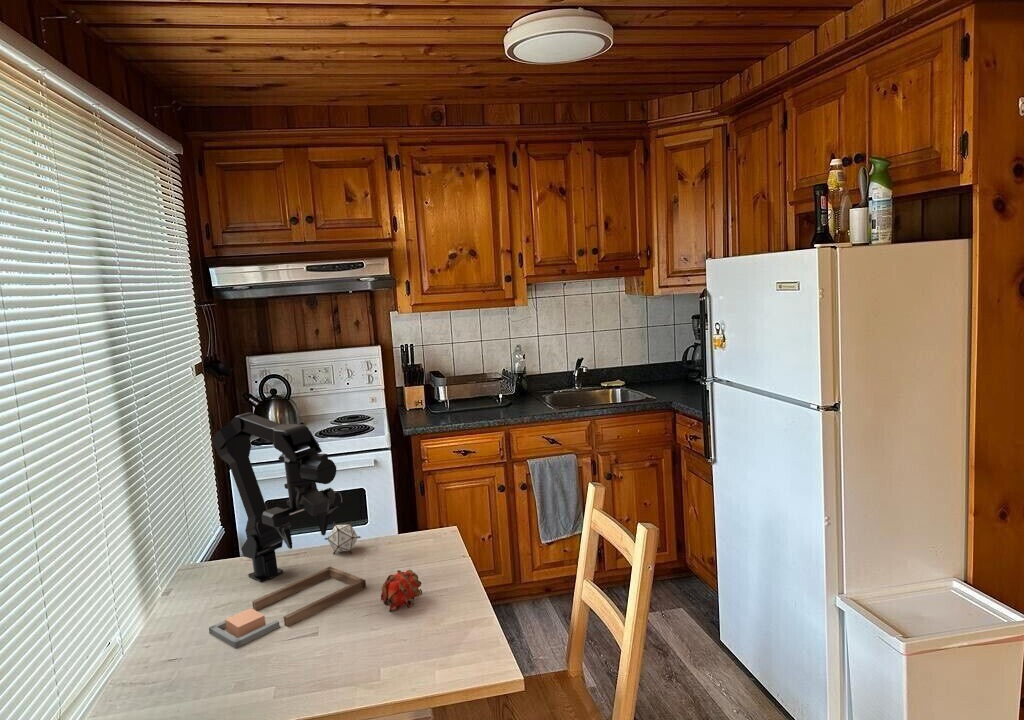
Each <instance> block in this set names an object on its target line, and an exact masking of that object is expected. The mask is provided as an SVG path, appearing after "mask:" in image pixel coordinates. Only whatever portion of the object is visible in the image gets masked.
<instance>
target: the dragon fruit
mask: <svg viewBox="0 0 1024 720" xmlns="http://www.w3.org/2000/svg"><path fill="white" fill-rule="evenodd" d="M396 571H397V572H396V574H389V575H388V577H387V578H386V580H385V582H384V583H383V584H382V587H381V591H382V592H381V595H380V600H381V602H383V603H382V604H384V605H385V606H386V607H389V610H388V611H389V613H391V612H393V611H399V610H401V609H402V607H403V606H404V605H405V606H406V607H408V608H409V609H410V608H411V607H412V606H413V605H415V597H420V596H422V595H423V590H422V588H420V587H421V586H422V581H421V580H419V576H418V574H416V573H415V572H413V570H411V569H408V570H405V571H401V570H400V569H397V570H396Z"/></svg>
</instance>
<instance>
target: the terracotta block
mask: <svg viewBox="0 0 1024 720" xmlns="http://www.w3.org/2000/svg"><path fill="white" fill-rule="evenodd" d="M252 608H253V607H250V608H247V609H245V610H244V611H243V610H242V611H241V612H238V613H237V614H234V615H232V616H229V617H227V618H225V619H224V620H225V622H226V628H225V629H226V632H227V633H229V634H230V635H232V636H234V637H236V638H240V637H242V636H244V635H246V634H248V633H250V632H252V631H254V630H256V629H259V628H261V627H263V626H265V625H267V624H266V620H265V615H264V614H263V613H261V612H259V611H258V610H256V611H255V610H254V609H252Z"/></svg>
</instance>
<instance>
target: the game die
mask: <svg viewBox="0 0 1024 720" xmlns="http://www.w3.org/2000/svg"><path fill="white" fill-rule="evenodd" d="M352 524H353V521H351V522H350V523H349V524H348V523H346V524H336V522H333V525H334V526H333V528H332V529H331V531H330V533H329V535H328V537H325V538H324V540H325V541H326V540H327V541H328V542H329V544H330V546H331V548H332V549H333V552H332V554H333V555H335V554H336V553H338V552H340V553H341V552H342V553H343V552H349V553H350V554H352V555H353V551H352V549H353V547H354V546H355V544H356V542H357V540H358V539H360V538H362V537H361V535H359V536H358V534H357V533H356V531H355V529H354V528H353V525H352Z"/></svg>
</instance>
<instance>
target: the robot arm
mask: <svg viewBox="0 0 1024 720" xmlns="http://www.w3.org/2000/svg"><path fill="white" fill-rule="evenodd" d="M253 436H254V437H257V438H260V439H262V440H265V441H268V442H271V444H273V447H274V449H276V450H277V451H278V452H280V453H281V454H280V455H279V456H278V461H282V462H284V463H283V464H284V469H285V478H286V483H284V484H283V485H284V489H287V494H288V500H286V506H289V507H287V508H281V507H277V506H275V507H273V508H270V509H268V508H267V505H266V502H265V499H264V497H263V494H262V490H261V488H260V486H259V482H258V480H257V479H258V478H257V477H256V473H255V472H254V468H253V465H252V463H251V460H250V453H251V450H252V442H251V438H252V437H253ZM212 445H213V447H214V449H215V451H216V453H217V455H218V457H219V458H220V459H221V460H222V461H223V462H225V463H226V464H227V465H228V466H229V467H230V471H231V473H232V474H231V475H232V477H233V479H234V482H235V486H236V488H237V491H238V494H239V498H240V499H241V501H242V504H243V505H242V506H243V508H244V511H245V513H246V516H247V522H246V526H245V531H244V532H245V534H246V540H245V541H244V543H243V545H242V546H241V548H240V551H241V553H242V556H243V557H244V558H248V559H251V562H252V568H253V569H252V570H253V571H252V572H251V573H248V577H250V578H251V579H253V580H255V581H257V582H262V583H263V582H264V581H267V580H269V579H272V578H274V577H276V576H279V575H281V574H283V573H284V569H281V568H279V567H278V563H277V554H276V551H275V550H278V549H280V548H283V542H284V544H285V545H286V547H287V548H288V549H290V550H291V549H293V539H292V533H291V527H292V522H290V520H291V517H292V516H294V515H297V514H299V513H302V512H307V513H308V515H309V516H310V517H311V516H312V517H317V522H318V526H319V528H318V529H319V530H320V534H321V536H326V534H327V529H328V525H329V521H330V518H331V514H332V513H333V512H334V510H336V509H337V508H338V507H339V505H340V504H342V503H343V497H342V494H341V493H340V492H339V491H336V490H334V489H333V488H332V487H328V488H325V489H324V490H323V489H321V490H319V489H318V486H317V484H321V485H328V484H330V483H331V482H333V481H334V479H335V478H336V475H337V465H336V463H335V462H334V461H333V460H332V459H330V458H328V457H329V456H328V455H329V454H328V453H322V452H323V450H322V448H321V446H320V444H319V442H318V441H317V440H316V438H315V437H314V435H313V434H312V432H311V429H309V427H308V426H307V425H305V424H298V423H290V424H284V423H280V422H277V421H273V420H271V419H268V418H265V417H263V416H259V415H256V414H255V413H254V412H246V413H242V414H238V415H236V416H234V417H233V418H232V419H231V421H229V422H228V423H227V424H225V425H224V426H223V427H221V428H220V429H218V430H217V431H216V432H215V433H214V435H213V437H212Z"/></svg>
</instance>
